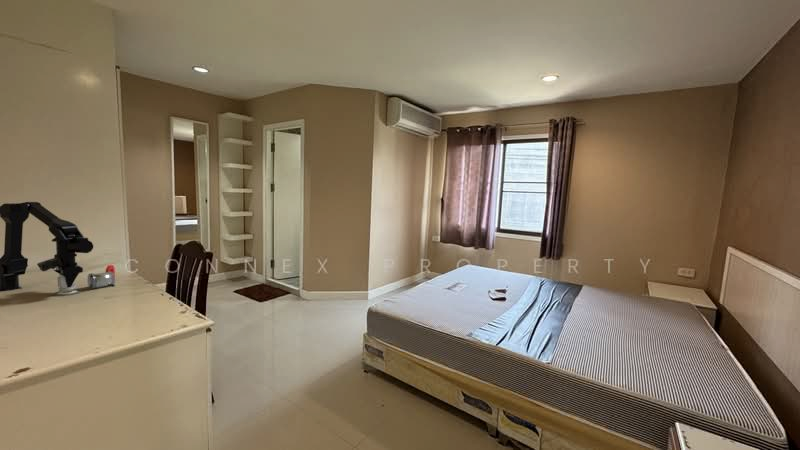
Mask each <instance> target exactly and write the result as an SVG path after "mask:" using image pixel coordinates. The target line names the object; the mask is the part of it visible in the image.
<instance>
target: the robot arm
mask: <svg viewBox="0 0 800 450" xmlns="http://www.w3.org/2000/svg"><path fill="white" fill-rule="evenodd" d="M30 214H31V215H32V216H33V217H34V218H36V219H37V220H39V221H40V222H42V224H44V225H45V226H47V227H48V231H49V232H50V234H51V235H52V236H53V237H54V238H53V239H51V242H55V246H56V247H55V248H56V253H54V257H52V258H49V259H46V260H42V261H40V262H37V263H36V265H37V267H38V268H39V271H41V272H46V271H49V270H51V269H52V270H53V271H54V272H56V273H57V274H58V275H60V274H61V275H63V276H64V277H65V281H66V284H67V287H71V286H72V284H73V282H74V281H75V280H76V279H77V278H78V276H79V274H80V273H84V269H83V267H82V266H80V265H78V262H76V257H78V254H89V253H91V252H92V251H93V249H94V244H93V242H92V241H91V240H89V238H88V237H84V235H83V233H82V232H81V231H80V229H79V228H78V225H76V224H75V223H73V222H71V221H69V220H65V219H62V218H60V217H58V216H57V215H55V214H54V213H53V212H52V211H50V210H48V209H47V208H46V207H44V206H43V205H42V204H41V203H40V202H38V201H24V202H20V203H18V202H17V203H14V202H13V203H3V204H1V205H0V219H2V221H3V222H4V224H5V227H4V228H5V229H4V250H3V255H1V257H0V292H7V291H13V290H22V289H23V287H21V286H20V279H19V278H20V277H19V276H21V275H25V274H26V271H27V269H28V267H29V265H28V262H29V259H28V257H25V256H24V255H23V254H22V250H23V248H22V247H23V228H24V223H25V221H27V219H29V217H30ZM77 253H78V254H77Z"/></svg>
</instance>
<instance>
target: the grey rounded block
mask: <svg viewBox="0 0 800 450" xmlns="http://www.w3.org/2000/svg"><path fill="white" fill-rule="evenodd" d="M115 278H116V276H115V277H114V274H113V272H106V271H105V272H100V273H98V272H97V273H88V274H87V286H88V288H89V289H90V290H96V289H101V288H107V287H111V286H112V287H114V288H115V287H116V284H115V282H116V279H115Z"/></svg>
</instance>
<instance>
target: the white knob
mask: <svg viewBox="0 0 800 450" xmlns="http://www.w3.org/2000/svg"><path fill="white" fill-rule="evenodd" d="M57 287H58V291H70V290H74V289H77V285H75V281H74V282H73V284H72V286H71V287H67V284H66V281H65V277H64V276H63V275H61V274H58V276H57Z"/></svg>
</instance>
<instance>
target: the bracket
mask: <svg viewBox="0 0 800 450" xmlns="http://www.w3.org/2000/svg"><path fill="white" fill-rule="evenodd" d="M115 271H116V269H115V266H114V265H113V264H109V265H107V267H106V268H105V272H113V274H114V277H115V278H116V272H115Z"/></svg>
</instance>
